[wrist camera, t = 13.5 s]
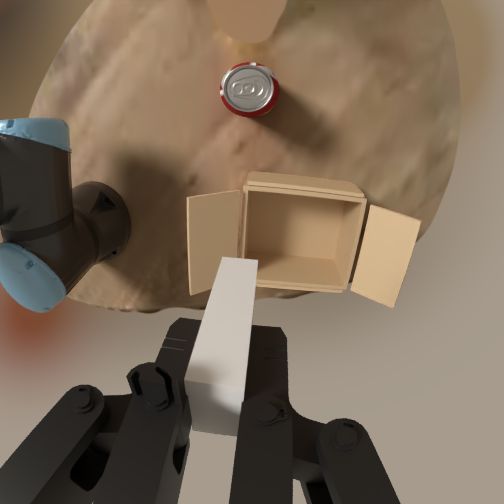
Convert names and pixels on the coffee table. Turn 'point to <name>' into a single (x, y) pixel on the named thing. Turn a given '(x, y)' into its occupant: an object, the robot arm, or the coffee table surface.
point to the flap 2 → (385, 255)
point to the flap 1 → (210, 235)
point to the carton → (301, 230)
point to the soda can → (249, 89)
